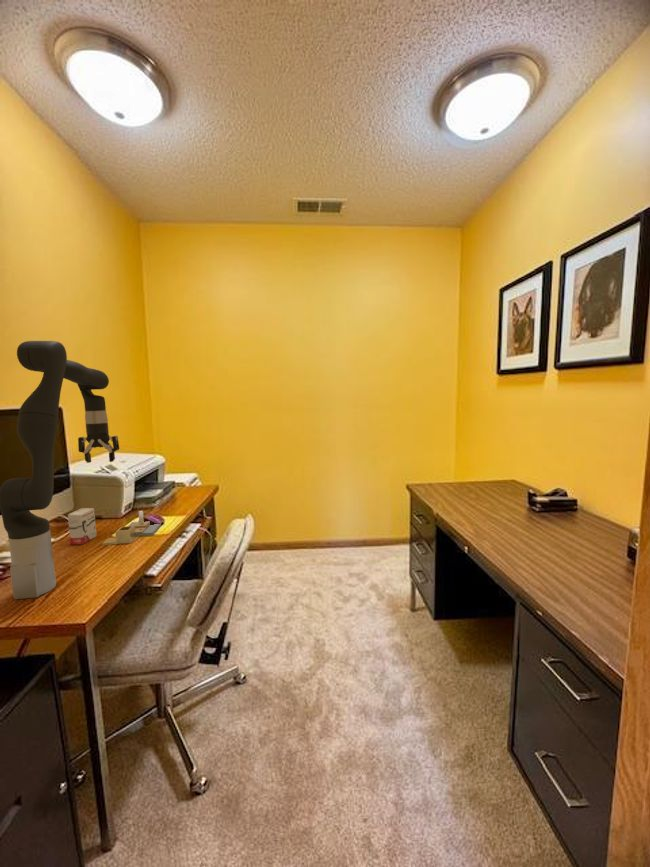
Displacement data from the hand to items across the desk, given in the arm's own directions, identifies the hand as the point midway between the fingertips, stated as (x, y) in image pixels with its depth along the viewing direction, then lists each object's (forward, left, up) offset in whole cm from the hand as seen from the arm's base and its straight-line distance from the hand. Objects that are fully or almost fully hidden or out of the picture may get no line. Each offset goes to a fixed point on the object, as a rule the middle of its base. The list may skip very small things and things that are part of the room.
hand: (100, 462), depth 145 cm
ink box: (-8, +5, -30) cm, 31 cm away
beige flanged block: (-12, -10, -29) cm, 33 cm away
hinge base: (-1, -14, -29) cm, 33 cm away
